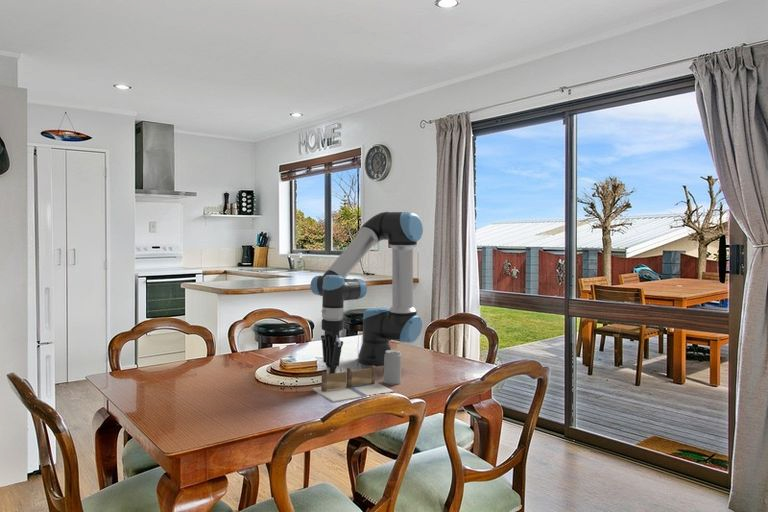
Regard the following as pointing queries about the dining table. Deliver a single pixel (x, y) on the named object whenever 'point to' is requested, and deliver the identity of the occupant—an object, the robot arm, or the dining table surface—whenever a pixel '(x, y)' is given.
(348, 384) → the fence fixed
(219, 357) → the dining table surface
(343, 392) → the card
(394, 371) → the beverage can
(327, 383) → the fence panel
